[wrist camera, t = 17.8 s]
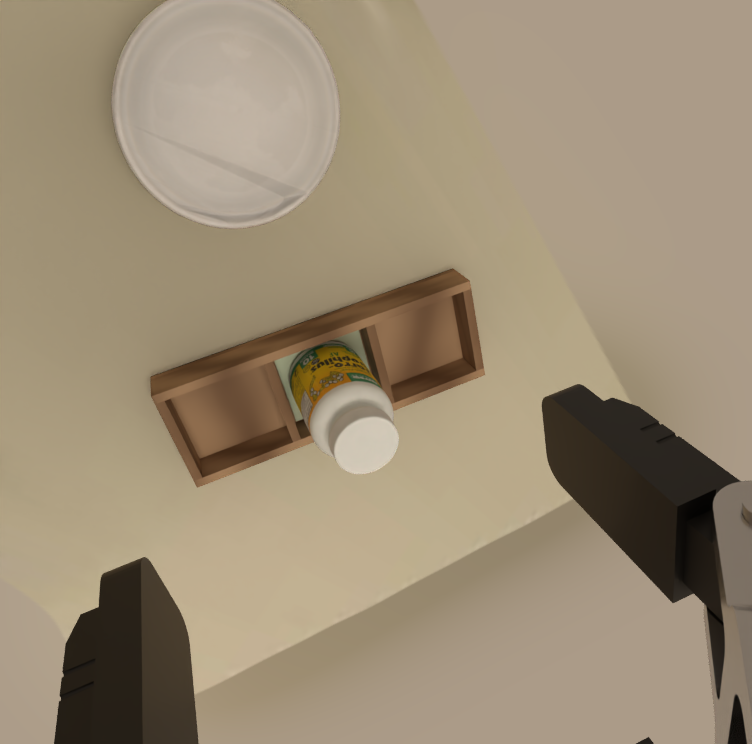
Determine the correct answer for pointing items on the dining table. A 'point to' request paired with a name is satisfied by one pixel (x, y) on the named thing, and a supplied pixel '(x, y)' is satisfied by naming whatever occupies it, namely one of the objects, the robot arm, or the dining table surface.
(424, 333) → the wooden compartment tray
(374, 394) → the supplement bottle
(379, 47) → the dining table surface
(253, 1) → the ramekin
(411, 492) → the dining table surface
